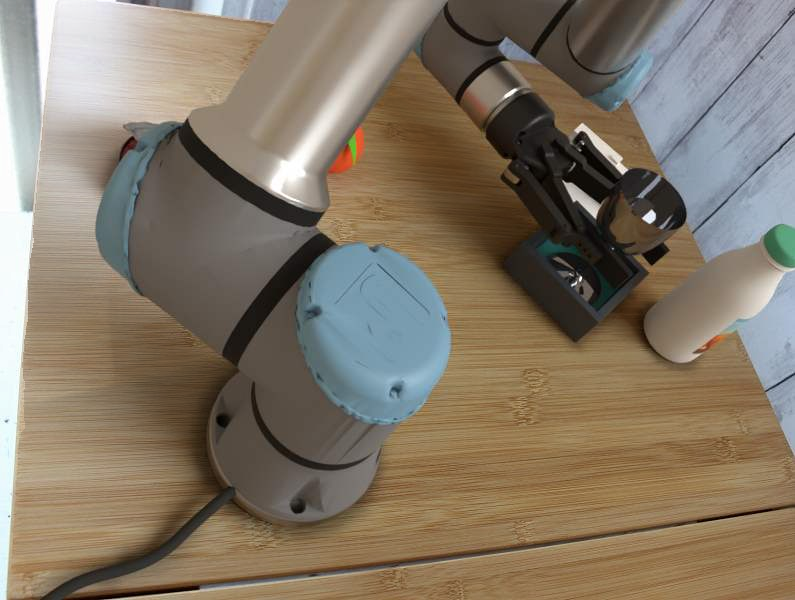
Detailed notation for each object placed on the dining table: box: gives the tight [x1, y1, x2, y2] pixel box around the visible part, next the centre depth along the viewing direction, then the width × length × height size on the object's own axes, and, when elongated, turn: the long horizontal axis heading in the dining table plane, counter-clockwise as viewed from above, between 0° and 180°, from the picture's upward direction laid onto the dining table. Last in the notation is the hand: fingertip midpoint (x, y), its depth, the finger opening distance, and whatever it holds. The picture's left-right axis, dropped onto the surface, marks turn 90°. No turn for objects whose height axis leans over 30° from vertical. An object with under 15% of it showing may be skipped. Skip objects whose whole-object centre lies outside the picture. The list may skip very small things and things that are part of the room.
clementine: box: [327, 125, 365, 174], centre depth 90 cm, size 8×7×7 cm
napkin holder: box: [562, 122, 629, 219], centre depth 105 cm, size 15×11×6 cm
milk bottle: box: [643, 223, 795, 364], centre depth 91 cm, size 8×8×20 cm
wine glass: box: [549, 167, 688, 304], centre depth 90 cm, size 8×8×15 cm
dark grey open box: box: [501, 200, 650, 343], centre depth 96 cm, size 12×12×5 cm
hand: (642, 269), depth 89 cm, fingers closed on wine glass, 6 cm apart
